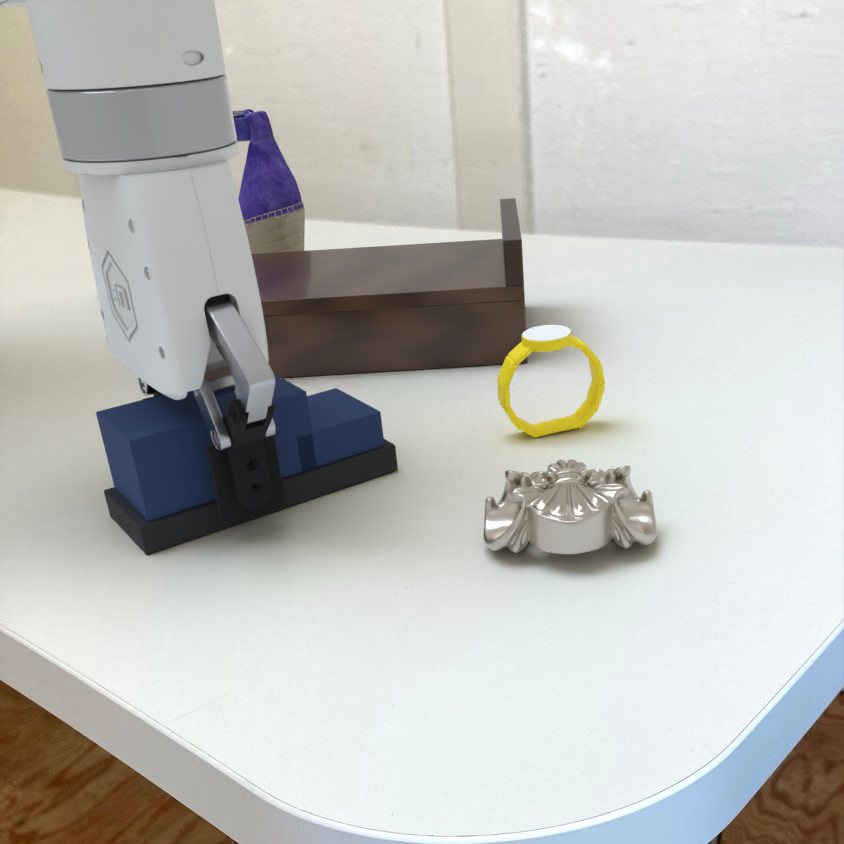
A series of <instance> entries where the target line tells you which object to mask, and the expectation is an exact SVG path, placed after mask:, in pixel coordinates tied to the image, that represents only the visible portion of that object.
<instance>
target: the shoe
mask: <svg viewBox="0 0 844 844" xmlns="http://www.w3.org/2000/svg"><path fill="white" fill-rule="evenodd" d="M274 376H275V389H274V394H273V402H272V404H273V406H275V410H274V415H273V420H274V423H275V427H276V434H275V435H274V438H275V444H276V450H277V456H278V462H279V468H280V474H281V479H282V485H283V491H284V497H285V503H284V505H283V506H282V507H281V508H280V509H277V510H274V511H271V512H268V513H265V514H262V515H259V516H256V517H253V518H250V519H247V520H244V521H241V522H239V523H236V524H232V525H228V524H226V523H225V522H223V521H222V520H221V519H220V517H219V513H218V508H217V503H216V498H215V493H214V488H213V483H212V478H211V473H210V468H209V464H208V459H207V454H206V449H205V447H207V446H210V445H213V443H212V440H211V437H210V435H209V432H208V430H207V427H206V425H205V422H204V419H203V417H202V414H201V412H200V409H199V406H198V404H197V401H196V399H195V396H194V394H193V391H189V392H187V396H186V398H184V399H180V400H174V399H171V398H169V397H167V396H165V395H164V394H163V395H159V396H155V397H153V396H150V397H151V398H149V397H146V398H147V399H145V398H142V399H143V400H142V399H140V400H136V401H132V402H129V403H125V404H124V403H123V404H120V405H117V406H114V407H109V408H105V409H102V410H98V411H95V415H96V419H97V423H98V427H99V432H100V435H101V438H102V443H103V447H104V451H105V455H106V459H107V463H108V467H109V472H110V475H111V479H112V484H113V487H110V488H107V489H104V490H103V495H104V497H105V501H106V506H107V509H108V513H109V516H110V517H111V519H112V520H113V521H114V522H115V523H116V524H117V525H118V526H119V527H120V528H121V529H122V530H123V532H124V533H125V534H126V535H127V536H128V537H129V538H130V539H131V540H132V541H133V542H134V543H135V544H136V545H137V547H138V548H139V549H140V550H141V551H142V552H143V553H144V554H145V555H151V554H154V553H156V552H159V551H162V550H166V549H168V548H171V547H174V546H177V545H180V544H183V543H187V542H190V541H192V540H195V539H198V538H201V537H204V536H207V535H209V534H213V533H215V532H218V531H221V530H224V529H228V528H230V527H233V526H236V525H239V524H242V523H246V522H248V521H251V520H254V519H257V518H260V517H263V516H266V515H269V514H272V513H275V512H278V511H280V510H283V509H286V508H290V507H293V506H295V505H298V504H302V503H304V502H307V501H311V500H313V499H316V498H319V497H322V496H325V495H327V494H330V493H334V492H337V491H340V490H343V489H345V488H349V487H352V486H355V485H357V484H360V483H363V482H366V481H370V480H372V479H375V478H378V477H381V476H385V475H387V474H389V473H392V472H395V471H398V470H399V466H398V458H397V450H396V445H395V443H392V442H391V441H389V440H387V439H385V437H384V430H383V422H382V421H383V420H382V413H381V410H378V409H377V408H374V407H372V406H371V405H369V404H368V403H365V402H363V401H361V400H360V399H358V398H356V397H354V396H352V395H351V394H349V393H347V392H345V391H343V390H341V389H338V388H337V387H335V388H331V389H328V390H323V391H320V392H316V393H314V394H313V393H312V394H310V395H308V394H307V391H306V390H304V389H302V388H301V387H300V386H297V385H296V384H293V383H292V382H291V381H289V380H287V379H284V378H281V377H279V376H278V375H276V374H274ZM215 398H216V401H217V403H218V406H219V408H220V411H221V413H222V416H223V419H224V415H225V412H226V409H227V406H228V403H229V401H232V400H235V399H236V398H237V396H236V394H235V391H233V392H230V393H226V394H222V395H218V396H215Z"/></svg>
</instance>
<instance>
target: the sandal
mask: <svg viewBox="0 0 844 844" xmlns="http://www.w3.org/2000/svg"><path fill="white" fill-rule="evenodd" d="M232 112H233V118H234V124H235V130H236V136H237V141H238V143H242V142H248V146H247V153H246V157H245V158H246V159H245V163H244V167H243V173H242V177H241V182H240V188H239V193H238V196H237V197H238V200H239V204H240V208H241V212H242V216H243V220H244V225H245V229H246V233H247V237H248V242H249V246H250V251H251V254H260V253H277V252H293V251H305V237H306V236H305V235H306V234H305V232H306V231H305V228H306V227H305V226H306V223H305V222H306V220H305V219H306V209H305V204H304V202H303V199H302V194H301V192H300V188H299V185H298V182H297V180H296V178H295V175H294V174H293V173H292V171H291V169H290V166H289V165H288V163H287V161H286V159H285V157H284V154H283V153H282V151H281V148H280V147H279V145H278V143H277V140H276V138H275V136H274V130H273V127H272V124H271V121H270V118H269V116H268V113H267V112H266V111H265V110H258V111H254V110H253V109H251V108H246V109H244V110H243V109H242V110H232Z"/></svg>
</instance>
